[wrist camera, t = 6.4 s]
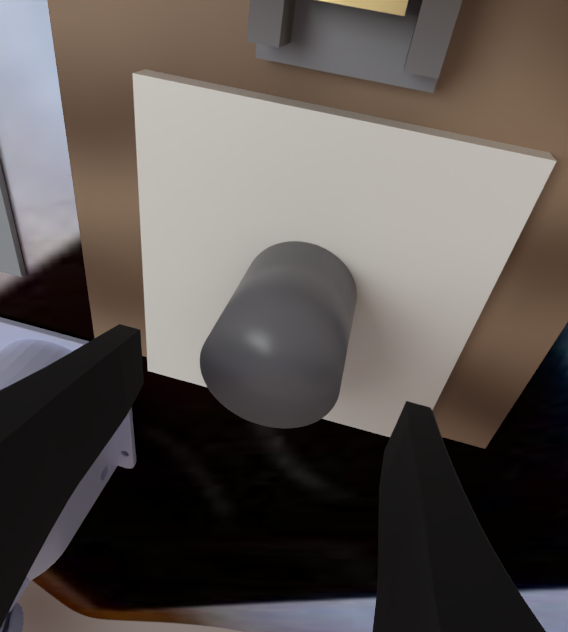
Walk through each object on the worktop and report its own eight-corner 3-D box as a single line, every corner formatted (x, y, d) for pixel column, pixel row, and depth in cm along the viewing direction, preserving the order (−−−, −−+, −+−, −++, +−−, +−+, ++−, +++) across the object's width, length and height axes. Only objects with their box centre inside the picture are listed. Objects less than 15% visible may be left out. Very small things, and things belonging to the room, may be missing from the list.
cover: (415, 429, 20) (415, 547, 16) (155, 359, 21) (91, 451, 17) (549, 152, 13) (616, 232, 9) (145, 69, 14) (29, 103, 10)
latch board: (481, 427, 21) (491, 491, 18) (109, 327, 22) (68, 372, 20) (903, -258, 9) (1117, -367, 6) (31, -356, 10) (-98, -473, 8)
